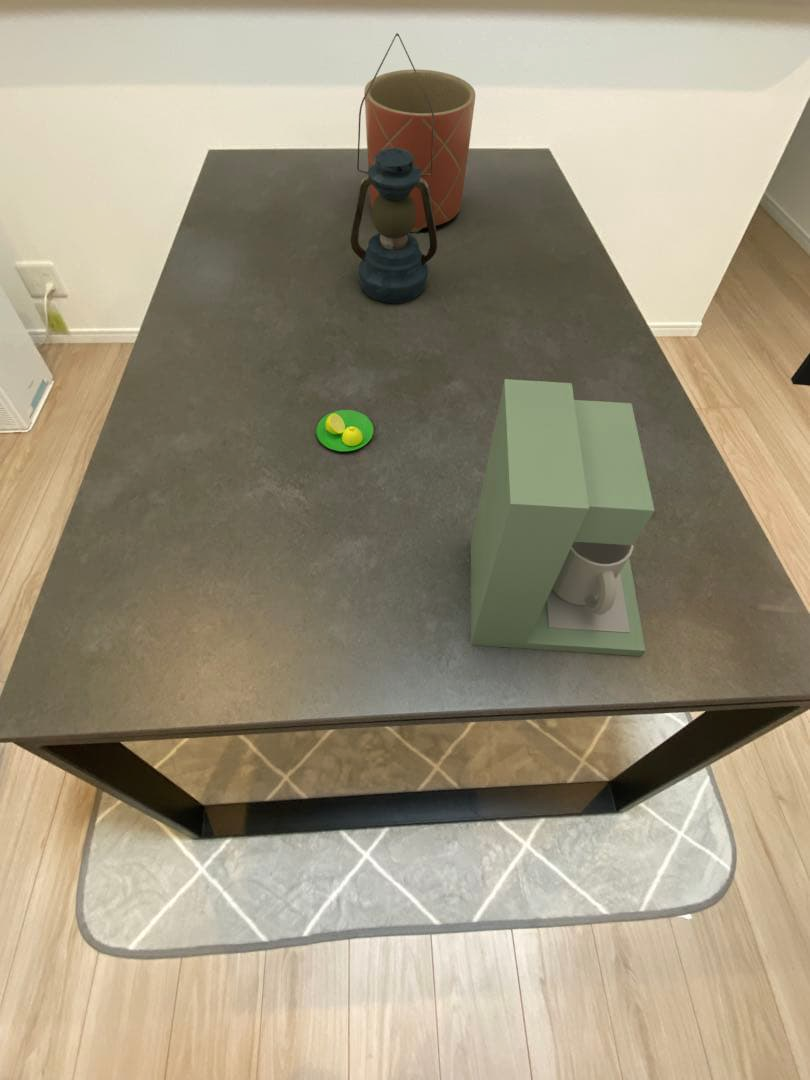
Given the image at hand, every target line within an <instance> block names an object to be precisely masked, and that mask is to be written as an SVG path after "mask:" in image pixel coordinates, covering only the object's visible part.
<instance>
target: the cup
mask: <svg viewBox="0 0 810 1080" xmlns="http://www.w3.org/2000/svg"><path fill="white" fill-rule="evenodd" d="M634 548H635V544H634V545H620V544H604V543H588V542H573V545H572V547H571V549H570V551H569V553H568V555H567V558H566V560H565V562H564V564H563V566H562V568H561V570H560V573H559V575H558V577H557V579H556V581H555V583H554V586H553V588H552V590H553V591H554V592H555V593H556V594H557V595H558V596H559V597H560V598H562V599H563V600H565V601H567V602H569V603H572V604H577V605H586V606H587V608H588V609H589V611H590V612H591V613H593V614H596V615H603V614H604V613H606V612H607V611H609V610H610V609H611V607H612V606H613V603H614V601H615V597H616V581H615V579H616V578H617V576H618V574H619V573H620V571H621V570H622V568H623V566H624V565H625V563H626V562H627V560H628V558H629V559H630V557H631V555H632V553H633V550H634Z"/></svg>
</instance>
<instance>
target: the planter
mask: <svg viewBox="0 0 810 1080" xmlns="http://www.w3.org/2000/svg"><path fill="white" fill-rule="evenodd" d="M415 70H416V72H417V74H418V76H419V78H420V81H421V83H422V85H423V87H424V89H425V91H426V93H427V96H428V98H429V100H430V102H431V105H432V108H433V114H434V127H433V163H432V173H431V175H428V176H421V177H420V178H422V179H424V180H425V181H426V182H427V184H428V187H429V192H430V198H431V204H432V210H433V216H434V222H435V227H436V226H440V225H442V224H445V223H447V222H449V221H451V220H452V219H454V218H455V217H456V216H457V215H458V214H459V213H460V211H461V206H462V201H463V194H464V186H465V179H466V171H467V164H468V156H469V150H470V143H471V136H472V128H473V119H474V112H475V111H474V110H475V105H476V91H475V89H474V86H472V85H471V84H470V83H469V82H467V81H466V80H464V79H463V78H462V77H461V78H460V77H459V76H456V75H454V74H451V73H447V72H443V71H438V70H431V69H415ZM372 80H373V78H371V80H369V82H367V83H366V85H365V87H364V90H363V91H364V92H363V93H364V94H363V95H364V96H365V94H366V92H367V90H368V88H369V86H370V84H371V82H372ZM364 111H365V130H366V133H365V134H366V148H367V165H368V169H369V168H370V167H371V166H372V165H373V164H375V156H376V154H377V153H378V152H379V151H382V150H384V149H388V148H400V149H403V150H407V151H408V152H410V153H411V154H412V155H413V157H414V165H416V166H417V167H418V168H419V169H420V172H421V175H424V174H430V172H431V158H432V112H431V107H430V104H429V102H428V100H427V97H426V95H425V93H424V91H423V89H422V87H421V84H420V82H419V80H418V78H417V76H416V73H415V71H414V69H400V70H394V71H390V72H386V73H383V74H380V75H378V76H376V78H375V80H374V82H373V84H372V86H371V88H370V90H369V92H368V94H367V96H366V98H365V100H364ZM378 195H379V192H378V190H377V189H376V188H375V187H374V186H373V184H371V185H370V186H369V198H370V205H371V206H370V207H371V208H372V207H373V203H374V200H375V198H376V197H377V196H378ZM409 195H410V197H411V198H412V199H413V200H414V204H415V209H416V219H415V224H414V227H413V229H412V230H411V231H410V232H409V233H414V234H415V233H419V231H421V230H423V229H426V228H428V227H427V222H426V216H425V211H424V205H423V200H422V194H421V191H420V189H419V188H418V187H415V188H414V189H413V190H411V192H410V194H409Z"/></svg>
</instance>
